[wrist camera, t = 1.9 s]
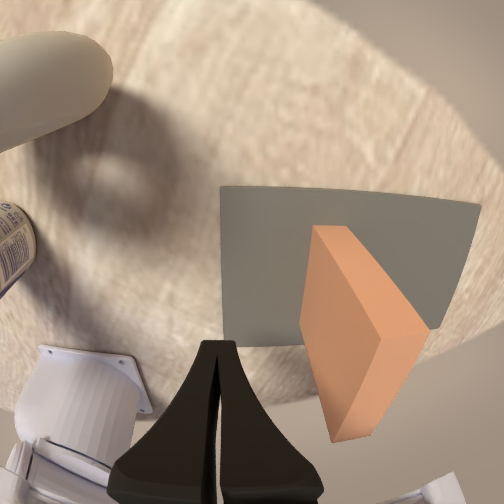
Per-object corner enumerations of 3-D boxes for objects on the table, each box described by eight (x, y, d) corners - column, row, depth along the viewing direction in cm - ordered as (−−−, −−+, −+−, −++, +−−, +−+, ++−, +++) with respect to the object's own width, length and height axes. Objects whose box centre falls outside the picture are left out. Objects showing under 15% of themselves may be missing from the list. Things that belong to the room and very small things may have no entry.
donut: (139, 44, 11) (22, -18, 2) (146, 104, 13) (21, 109, 4) (1, 104, 11) (-121, 136, 2) (9, 153, 13) (-110, 211, 4)
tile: (299, 323, 19) (331, 443, 11) (312, 225, 16) (380, 339, 8) (327, 322, 19) (369, 435, 11) (346, 225, 16) (430, 331, 8)
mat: (224, 343, 20) (224, 346, 20) (220, 186, 15) (220, 188, 15) (436, 325, 21) (438, 328, 21) (478, 204, 16) (481, 205, 16)
